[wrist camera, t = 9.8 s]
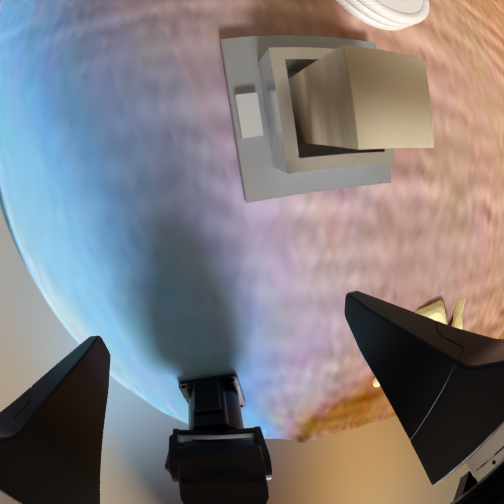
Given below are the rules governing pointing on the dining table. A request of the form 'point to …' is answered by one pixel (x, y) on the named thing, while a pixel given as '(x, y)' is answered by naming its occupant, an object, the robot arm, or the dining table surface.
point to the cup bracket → (282, 117)
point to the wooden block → (363, 100)
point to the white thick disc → (387, 12)
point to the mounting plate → (256, 127)
